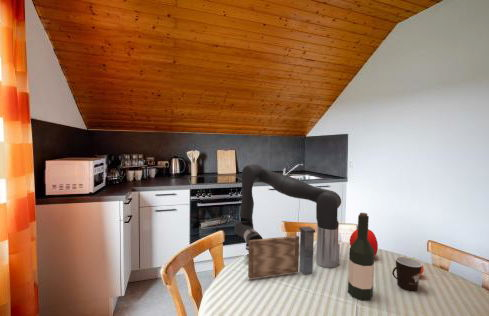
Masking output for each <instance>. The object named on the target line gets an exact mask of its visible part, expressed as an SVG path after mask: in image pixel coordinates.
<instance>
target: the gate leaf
mask: <svg viewBox="0 0 489 316" xmlns="http://www.w3.org/2000/svg"><path fill="white" fill-rule="evenodd" d="M247 264H248V267H247V268H248V271H247V272H248V273H247V274H248V277H247V278H248V279H249V280H250V279H251V280H252V279H257V278H264V277H271V276H272V277H273V276H278V275H286V274H287V275H288V274H293V273H299V265H300V235H289V236H280V237H278V236H277V237H268V238H263V239H256V240H249V250H248V263H247Z"/></svg>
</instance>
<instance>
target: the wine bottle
mask: <svg viewBox="0 0 489 316" xmlns="http://www.w3.org/2000/svg"><path fill="white" fill-rule="evenodd" d="M369 217H370V216H369V215H368V213H366V212H360V213H359V214H358V218H357V229H358V235H357V239H356V240H355V242H354V243H353V244H352V246H350V247H349V254H348V255H349V257H348V259H349V260H348V279H347V281H348V282H347V283H348V284H347V293H348V294H349V295H350V297H352V298H353V299H356V300H359V301H365V302H366V301H368V302H369V301H371V300H372V298H373V297H374V296H373V294H374V277H375V275H374V274H375V272H374V271H375V257H374V256H376V255H375V251H374V249H373V247H372V246H371V244H370V242H369V241H368V229H369Z"/></svg>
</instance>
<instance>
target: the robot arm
mask: <svg viewBox="0 0 489 316" xmlns="http://www.w3.org/2000/svg"><path fill="white" fill-rule="evenodd" d="M255 182H260V183H264V184H267V185H269V186H270V187H272V188H273V189H274V190H275V191H277V192H278V193H280V194H282V195H285V196H288V197H290V198H294V199H300V200H306V201H307V200H308V201H311V202H312V203H316V204H315V209H316V210H315V219H316V222H317V223H316V224H317V225H316V228H317V229H316V255H315V256H316V257H315V259H316V260H315V262H316V264H317V265H318V266H319V267H323V268H329V269H333V268H336V267H337V266H339V265H340V250H341V246H340V245H341V244H340V243H339V225H340V224H339V221H338V208H340V206H341V204H342V198H341V197H340V195H339V194H338V192H336V191H333V190H330V189H327V188H326V189H325V188H321V187H318V186H314V185H311V184H310V183H308V182H304V181H301V180H300V179H297V178H294V177H291V176H288V175H284V174H282V173H278V172H274V171H271V170H269V169H267V168H266V167H263V166H261V165H259V164H248V165H245V166H244V167H243V168H242V172H241V201H240V202H241V203H240V211H239V216H240V218H241V219H243V220H247V221H243V220H242V221H241V220H240V221H237V222H235V224H234V226H233V227H234V232H235V234H236V235H238V236H239V237H241V238H243V239H244V241H245V250H247V251H249V240H256V239H264V238H263V237H262V235H261V234H260V233H259V232H258V231H257V230H256V229H254V223H253V215H254V214H253V213H254V205H255V202H254V196H253V186H254V183H255Z"/></svg>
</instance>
